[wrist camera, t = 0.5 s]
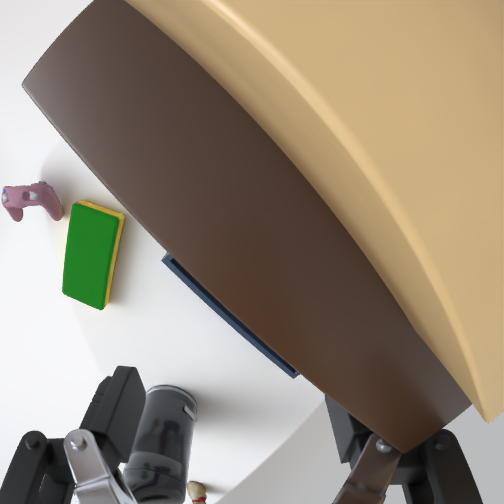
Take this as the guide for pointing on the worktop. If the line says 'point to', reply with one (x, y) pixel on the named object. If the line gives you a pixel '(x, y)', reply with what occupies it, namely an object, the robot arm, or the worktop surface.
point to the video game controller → (31, 200)
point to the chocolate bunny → (196, 492)
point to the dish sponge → (91, 253)
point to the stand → (239, 217)
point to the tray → (227, 315)
